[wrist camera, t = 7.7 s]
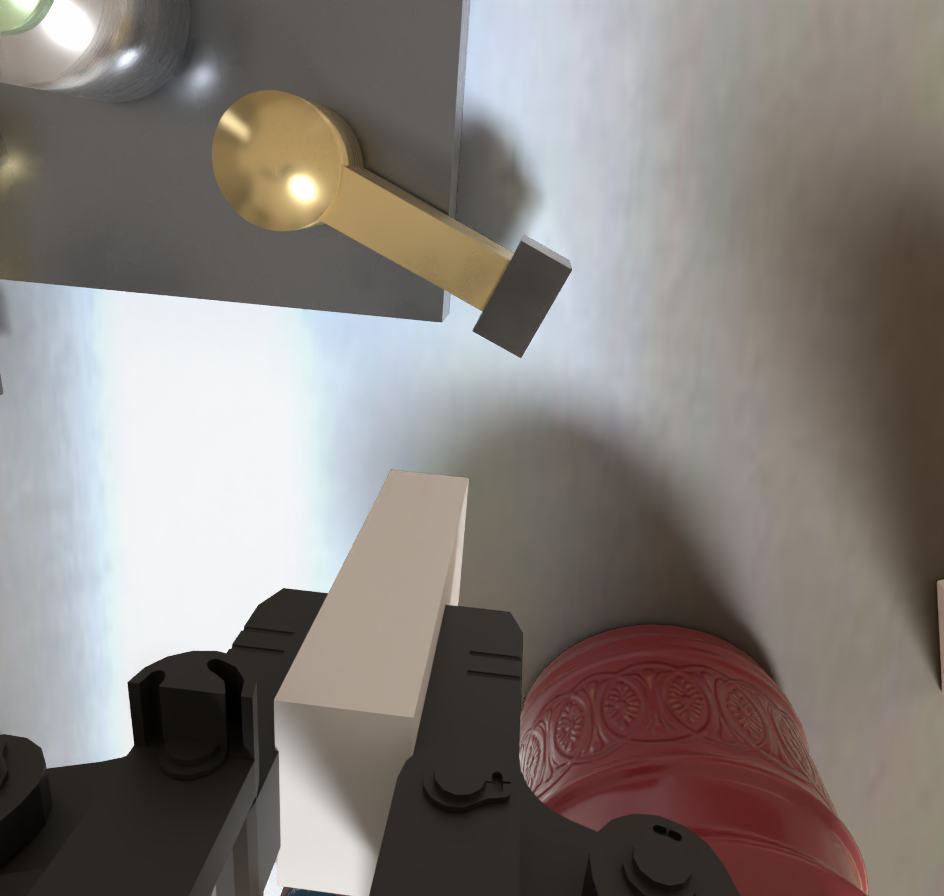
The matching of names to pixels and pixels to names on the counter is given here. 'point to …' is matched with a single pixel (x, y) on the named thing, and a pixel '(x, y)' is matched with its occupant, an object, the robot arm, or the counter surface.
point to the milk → (941, 625)
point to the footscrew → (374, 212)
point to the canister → (688, 756)
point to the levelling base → (191, 136)
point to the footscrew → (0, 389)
